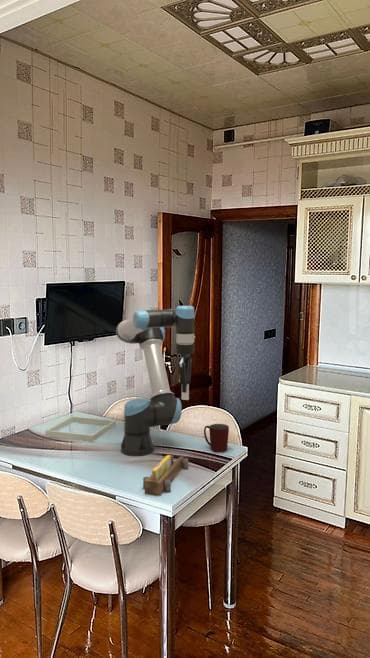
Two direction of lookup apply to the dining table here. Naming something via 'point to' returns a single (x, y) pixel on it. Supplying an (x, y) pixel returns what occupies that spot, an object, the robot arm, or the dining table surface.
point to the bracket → (165, 478)
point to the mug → (217, 437)
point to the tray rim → (54, 433)
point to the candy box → (161, 468)
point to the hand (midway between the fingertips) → (185, 399)
